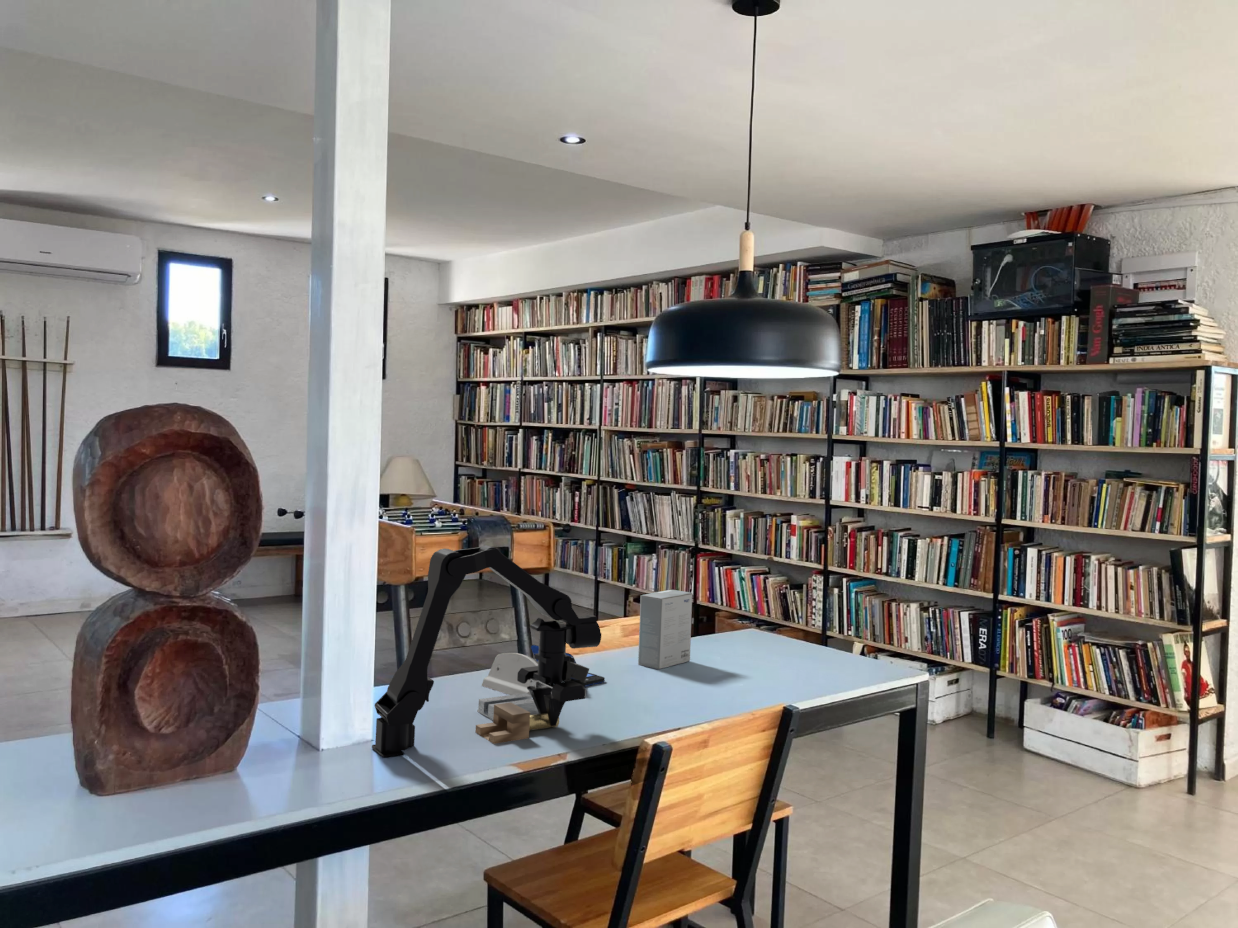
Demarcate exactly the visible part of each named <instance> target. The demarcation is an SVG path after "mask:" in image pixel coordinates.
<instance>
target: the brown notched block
mask: <svg viewBox="0 0 1238 928" xmlns="http://www.w3.org/2000/svg"><path fill="white" fill-rule="evenodd" d="M529 725H530V712H528V711H526V710H524V709H523V708H521V707H519V706H517V705H515V704H513V703H511V702H510V703H503V704H496V705H494V716H493V720H492V722H486V723H479V724H475V733H476V734H477V735H479V737H482V738H483V739H485V740H486V741H488V742H490V743H491V744H493V745H495V744H502V743H507V742H513V741H519V740H526V739H530V730H529Z"/></svg>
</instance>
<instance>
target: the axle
mask: <svg viewBox="0 0 1238 928" xmlns="http://www.w3.org/2000/svg"><path fill="white" fill-rule="evenodd" d="M559 724H560V717H559V718H558V721H557V723H556V725H555V726H551V725H550V722H549V718H548V714H547V713H545V714H536V715H530V725H529V731H535V730H543V729H551V728H558V726H559Z"/></svg>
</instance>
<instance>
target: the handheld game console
mask: <svg viewBox="0 0 1238 928" xmlns="http://www.w3.org/2000/svg"><path fill="white" fill-rule="evenodd" d="M530 649H531V651H532V654H533V655H534V654H537V653H539V645H537V644H531V645H530ZM566 655H568V656H570V657H572V658H574V663H577V662H576V659H575V657H574V656H573V655H572V654H571V653H569V652H566ZM535 660H536V661H538V660H537V659H535ZM605 679H606V678H605V677H604V676H601V675H598V674H595V673H591V672H588V674H587V677H586V680H585V683H584V682H581V681H580V680H577V679H574V678H571V680H570V681H564V682H571V681H574V682H577V683H579V684H581V685H583V686H584V687H588V686H592V685H593V684H594V685H599V684H603V683H604V682H605V681H606V680H605ZM564 682H563V683H564ZM602 682H603V683H602ZM594 685H593V686H594Z"/></svg>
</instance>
